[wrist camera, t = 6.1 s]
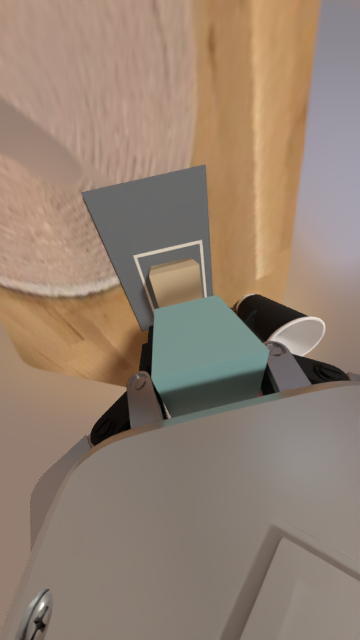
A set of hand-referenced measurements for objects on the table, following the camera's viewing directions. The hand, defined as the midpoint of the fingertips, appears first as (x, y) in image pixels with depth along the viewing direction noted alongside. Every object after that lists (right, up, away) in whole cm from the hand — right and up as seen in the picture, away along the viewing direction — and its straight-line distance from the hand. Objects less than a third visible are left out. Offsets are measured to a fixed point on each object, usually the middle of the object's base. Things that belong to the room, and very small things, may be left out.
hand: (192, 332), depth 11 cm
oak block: (-2, +7, +11) cm, 13 cm away
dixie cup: (+12, +4, +16) cm, 20 cm away
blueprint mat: (-3, +9, +10) cm, 14 cm away
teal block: (0, 0, +1) cm, 1 cm away
